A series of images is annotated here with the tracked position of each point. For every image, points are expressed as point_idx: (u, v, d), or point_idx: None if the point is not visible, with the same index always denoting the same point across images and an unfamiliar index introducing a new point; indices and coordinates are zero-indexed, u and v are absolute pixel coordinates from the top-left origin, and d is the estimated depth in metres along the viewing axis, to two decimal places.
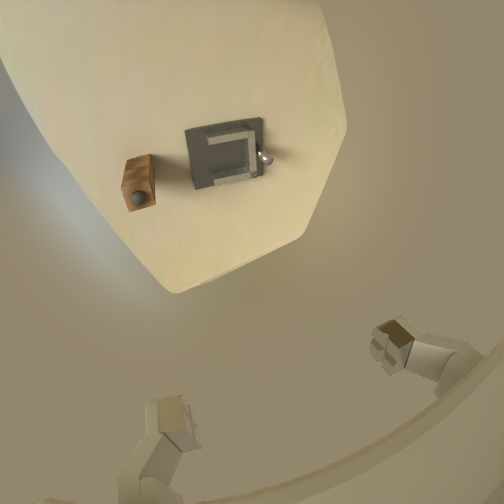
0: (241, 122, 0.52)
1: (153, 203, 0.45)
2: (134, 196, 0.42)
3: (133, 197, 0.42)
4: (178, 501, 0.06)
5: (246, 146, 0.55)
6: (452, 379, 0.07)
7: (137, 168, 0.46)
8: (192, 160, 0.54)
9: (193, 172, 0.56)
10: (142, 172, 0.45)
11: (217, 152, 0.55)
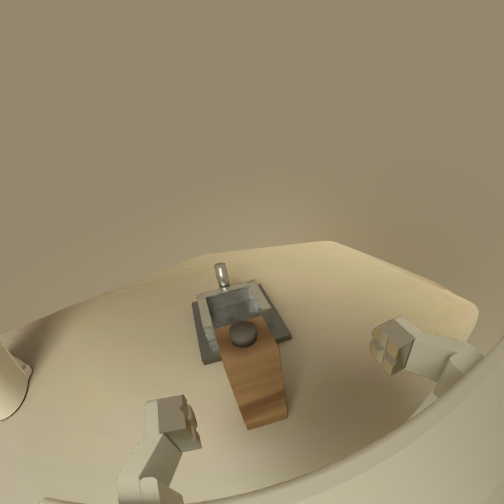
0: (195, 315, 0.48)
1: (259, 318, 0.27)
2: (233, 334, 0.23)
3: (235, 336, 0.23)
4: (178, 501, 0.06)
5: (220, 300, 0.49)
6: (452, 379, 0.07)
7: None
8: None
9: None
10: None
11: None
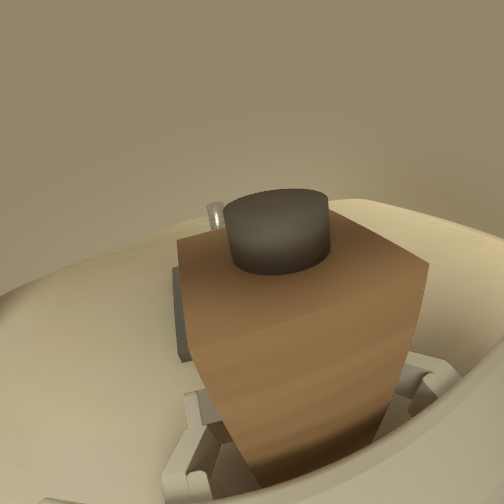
0: (175, 283, 0.31)
1: None
2: (243, 215, 0.06)
3: (252, 216, 0.05)
4: (222, 495, 0.06)
5: None
6: (425, 400, 0.07)
7: None
8: None
9: None
10: None
11: None
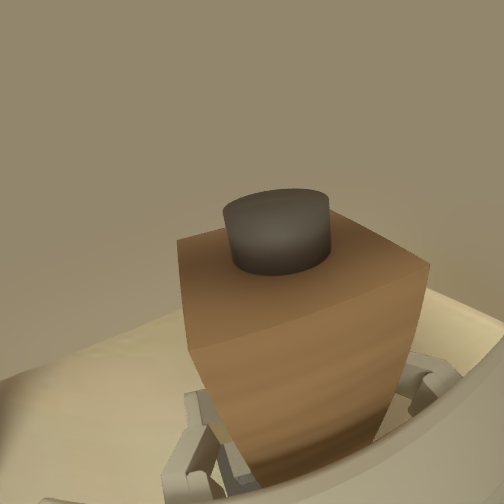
0: None
1: None
2: (243, 215, 0.06)
3: (253, 216, 0.05)
4: (222, 494, 0.06)
5: None
6: (425, 400, 0.07)
7: None
8: None
9: None
10: None
11: None
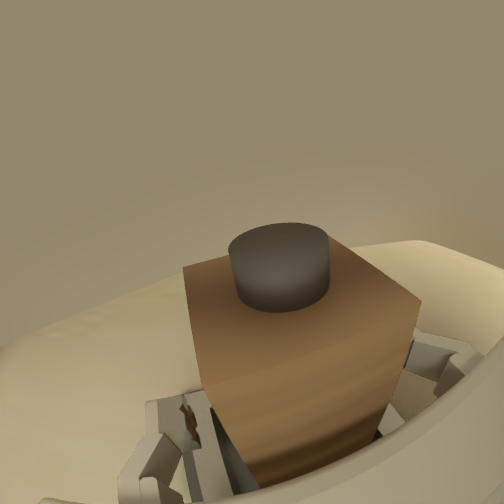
0: None
1: None
2: (248, 257, 0.06)
3: (257, 260, 0.06)
4: (178, 501, 0.06)
5: None
6: (452, 379, 0.07)
7: None
8: None
9: None
10: None
11: None
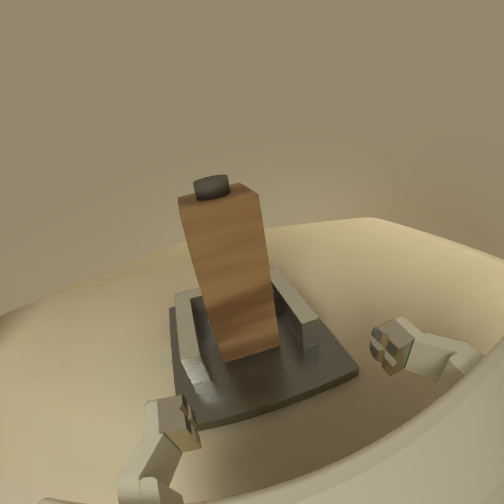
0: (173, 330, 0.26)
1: (235, 184, 0.21)
2: (198, 182, 0.18)
3: (200, 182, 0.17)
4: (178, 501, 0.06)
5: None
6: (452, 379, 0.07)
7: None
8: (268, 399, 0.18)
9: (307, 387, 0.18)
10: None
11: None
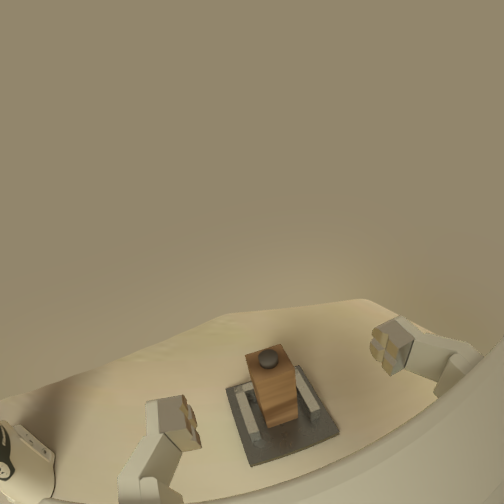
0: (232, 406, 0.40)
1: (278, 345, 0.35)
2: (262, 360, 0.32)
3: (263, 361, 0.31)
4: (178, 501, 0.06)
5: None
6: (452, 379, 0.07)
7: (256, 394, 0.35)
8: (293, 448, 0.32)
9: (312, 442, 0.32)
10: (252, 379, 0.35)
11: None
